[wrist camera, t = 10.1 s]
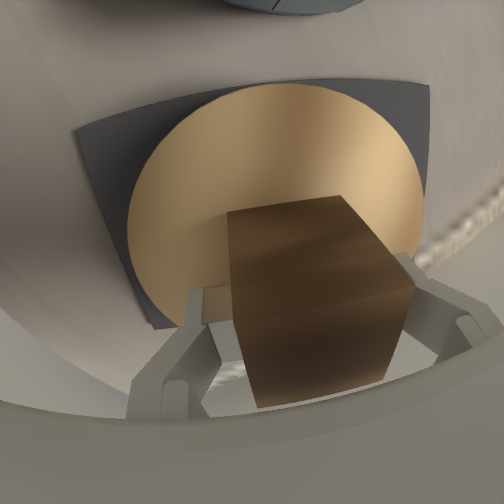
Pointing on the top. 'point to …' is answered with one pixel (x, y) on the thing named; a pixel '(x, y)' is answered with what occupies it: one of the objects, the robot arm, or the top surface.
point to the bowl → (295, 6)
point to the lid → (285, 233)
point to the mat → (175, 110)
